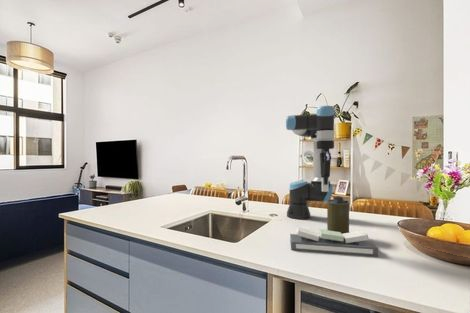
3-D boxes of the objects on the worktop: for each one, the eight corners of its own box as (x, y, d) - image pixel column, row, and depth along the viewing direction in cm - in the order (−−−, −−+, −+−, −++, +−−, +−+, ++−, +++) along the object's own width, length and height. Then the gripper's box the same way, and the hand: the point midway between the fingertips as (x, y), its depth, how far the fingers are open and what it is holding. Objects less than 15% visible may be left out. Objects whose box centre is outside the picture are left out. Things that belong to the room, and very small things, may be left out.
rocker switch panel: (290, 241, 110) (290, 231, 110) (368, 246, 103) (368, 236, 103) (291, 250, 100) (291, 239, 100) (378, 256, 93) (378, 245, 93)
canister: (336, 240, 111) (336, 198, 111) (322, 233, 121) (322, 195, 121) (355, 238, 114) (355, 197, 114) (340, 231, 124) (340, 194, 124)
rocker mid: (318, 233, 106) (319, 229, 106) (339, 236, 104) (340, 232, 104) (320, 238, 100) (321, 233, 100) (343, 241, 98) (343, 236, 98)
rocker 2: (342, 238, 104) (341, 233, 104) (364, 234, 102) (362, 230, 102) (346, 243, 98) (345, 238, 98) (369, 239, 96) (367, 234, 96)
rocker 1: (296, 230, 108) (297, 226, 108) (316, 236, 106) (317, 232, 106) (297, 235, 102) (298, 230, 102) (318, 241, 100) (319, 236, 100)
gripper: (314, 140, 114) (314, 188, 115) (319, 139, 101) (319, 193, 102) (330, 140, 113) (330, 189, 114) (337, 139, 100) (337, 194, 101)
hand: (325, 191), depth 108 cm, fingers closed
